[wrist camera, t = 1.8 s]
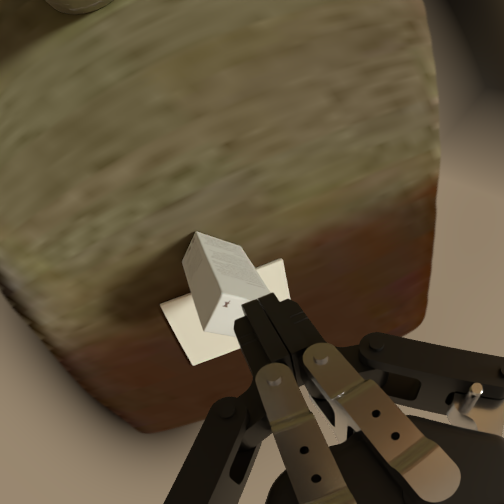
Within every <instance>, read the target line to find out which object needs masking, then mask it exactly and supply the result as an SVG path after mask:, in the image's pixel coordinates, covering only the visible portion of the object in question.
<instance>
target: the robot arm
mask: <svg viewBox="0 0 504 504" xmlns="http://www.w3.org/2000/svg"><path fill="white" fill-rule="evenodd" d="M45 1H46V2H47V3H48V4H49V5H51V6H52V7H53V8H54V9H56V10H58V11H59V12H63V13H66V14H83V13H88V12H92V11H95V10H97V9H100V8H102V7H104V6H106V5H107V4H109V3H110V2H112V1H113V0H45ZM241 306H242V310H243V313H244V317H241V318H238V319H236V320H235V321H234V329H233V330H234V332H235V335H236V338H237V340H238V343H239V345H240V348H241V351H242V353H243V355H244V358H245V360H246V362H247V364H248V366H249V369H250V371H251V373H252V376H253V381H252V384H251V386H250V387H249V388H248V390H247V391H246V392H244V393H243V394H242V395H240V396H239V397H238V398H235V397H225V398H222V399H220V400H218V401H216V402H215V403H214V404H213V405H212V407H211V408H210V411H209V413H208V415H207V417H206V419H205V421H204V423H203V425H202V427H201V429H200V431H199V433H198V436H197V437H196V439H195V442H194V444H193V446H192V448H191V450H190V452H189V454H188V456H187V458H186V460H185V462H184V464H183V466H182V468H181V470H180V472H179V474H178V476H177V478H176V480H175V482H174V484H173V486H172V488H171V490H170V492H169V494H168V496H167V498H166V500H165V502H164V504H238V502H239V499H240V497H241V494H242V492H243V490H244V487H245V484H246V482H247V480H248V477H249V475H250V472H251V470H252V467H253V464H254V462H255V459H256V457H257V454H258V451H259V449H260V446H261V443H262V441H263V440H264V439H265V438H267V437H268V436H269V435H270V434H271V433H273V435H274V438H275V440H276V443H277V446H278V449H279V451H280V454H281V457H282V460H283V462H284V465H285V467H286V470H285V471H284V472H283V473H281V474H280V476H279V477H278V478H277V479H276V480H275V482H274V483H273V485H272V487H271V488H270V491H269V493H268V496H267V499H266V502H265V504H504V438H503V437H502V431H503V425H504V357H499V356H494V355H488V354H482V353H477V352H471V351H466V350H460V349H456V348H450V347H446V346H441V345H436V344H431V343H426V342H421V341H416V340H412V339H407V338H402V337H398V336H393V335H389V334H384V333H379V332H375V333H370V334H368V335H366V336H364V337H363V338H362V339H361V341H360V344H359V345H354V346H349V347H335V346H333V345H331V344H328V343H327V342H326V341H325V340H324V339H323V338H322V336H321V335H320V334H319V332H318V331H317V329H316V328H315V327H314V325H313V324H312V323H311V321H310V320H309V319H308V317H307V316H306V314H305V313H304V312H303V310H302V309H301V308H300V306H299V305H298V304H297V303H296V302H294V301H292V300H290V299H286V300H283V301H281V302H280V301H279V300H278V298H277V297H276V295H275V294H274V293H273V292H272V293H269V294H267V295H264V296H262V297H259V298H258V300H257V299H255V300H252V301H250V302H247V303H244V304H242V305H241ZM302 385H305V387H306V388H307V390H308V393H309V398H310V400H311V401H312V403H313V404H314V406H315V407H316V408H317V409H318V411H319V412H320V414H321V415H322V417H323V418H324V419H325V421H326V422H327V424H328V425H329V426H330V428H331V429H332V431H333V433H334V435H335V437H336V439H337V441H338V443H339V444H338V445H334V446H330V447H328V445H327V443H326V440H325V438H324V436H323V434H322V432H321V430H320V427H319V425H318V423H317V421H316V419H315V417H314V415H313V413H312V412H310V410H309V409H308V406H307V404H306V402H305V400H304V398H303V396H302V393H301V391H300V389H299V387H300V386H302ZM396 404H399V405H403V406H407V407H412V408H416V409H420V410H425V411H429V412H434V413H438V414H443V415H447V418H448V420H449V422H450V423H451V425H449V424H445V423H441V422H437V421H433V420H429V419H425V418H421V417H417V416H412V415H405V414H404V413H403V412H402V411H401V410H400V409H399V407H398V406H397V405H396Z"/></svg>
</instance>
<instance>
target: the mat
mask: <svg viewBox="0 0 504 504" xmlns="http://www.w3.org/2000/svg"><path fill="white" fill-rule="evenodd" d="M255 269H256V271H257V272H258V274H259V275H260V277H261V278H262V280H263V282H264V283H265V285H266V286H267V288H268V289H269V291H270V292H271V293H272V292H273V293H274V294H275V295H276V297H277V298H278V300H279V301H280V302H281V301H283V300H286V299H290V295H289V290H288V285H287V280H286V274H285V269H284V264H283V259H282V258H280V259H278V260H275V261H272V262H270V263H267V264H265V265H262V266H259V267H257V268H255ZM160 307H161V308H162V310H163V312H164V314H165V316H166V318H167V320H168V322H169V324H170V326H171V327H172V329H173V331H174V333H175V335H176V337H177V338H178V340H179V342H180V344H181V346H182V347H183V349H184V351H185V353H186V355H187V356H188V358H189V360H190V362H191V363H192V365H193V366H194V365H196V364H199V363H202V362H205V361H207V360H210V359H213V358H215V357H218V356H221V355H223V354H226V353H229V352H231V351H234V350H236V349H239V348H240V345H239V343H238V340H237V338H236V337H233V336H227V335H221V334H215V333H210V332H204V331H203V329H202V326H201V323H200V320H199V317H198V314H197V311H196V307H195V304H194V301H193V298H192V295H191V293H188V294H185V295H183V296H180V297H177V298H175V299H172V300H169V301H167V302H164V303H161V304H160Z"/></svg>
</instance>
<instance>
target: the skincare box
mask: <svg viewBox="0 0 504 504" xmlns="http://www.w3.org/2000/svg"><path fill="white" fill-rule="evenodd" d="M182 265H183V268H184V271H185V275H186V278H187V281H188V285H189V288H190V291H191V295H192V298H193V301H194V304H195V307H196V311H197V314H198V317H199V320H200V323H201V326H202V329H203V331H204V332H210V333H215V334H221V335H227V336H233V337H236V335H235V332H234V330H233V329H234V321H235V320H236V319H238V318H241V317H244V313H243V310H242V306H241V305H242V304H244V303H247V302H250V301H252V300H255V299H257V300H258V298H259V297H262V296H264V295H267V294H269V293H271V292H270V291H269V289H268V288H267V286H266V285H265V283H264V282H263V280H262V278H261V277H260V275H259V274H258V272H257V271H256V269H255V268H254V266H253V265H252V263H251V262H250V260H249V258H248V257H247V255H246V254H245V252H244V251H243V249H242V248H241V246H238V245H235V244H232V243H230V242H227V241H224V240H221V239H218V238H215V237H212V236H209V235H206V234H203V233H200V232H197V231H196V232H195V234H194V236H193V238H192V240H191V243H190V245H189V247H188V249H187V251H186V254H185V256H184V258H183V260H182Z"/></svg>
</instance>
